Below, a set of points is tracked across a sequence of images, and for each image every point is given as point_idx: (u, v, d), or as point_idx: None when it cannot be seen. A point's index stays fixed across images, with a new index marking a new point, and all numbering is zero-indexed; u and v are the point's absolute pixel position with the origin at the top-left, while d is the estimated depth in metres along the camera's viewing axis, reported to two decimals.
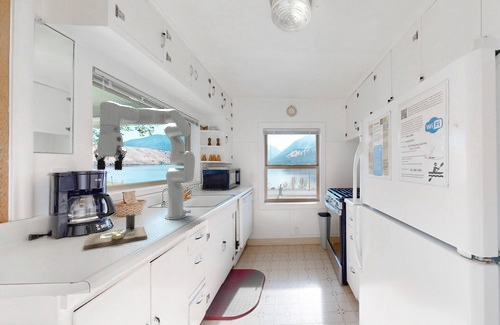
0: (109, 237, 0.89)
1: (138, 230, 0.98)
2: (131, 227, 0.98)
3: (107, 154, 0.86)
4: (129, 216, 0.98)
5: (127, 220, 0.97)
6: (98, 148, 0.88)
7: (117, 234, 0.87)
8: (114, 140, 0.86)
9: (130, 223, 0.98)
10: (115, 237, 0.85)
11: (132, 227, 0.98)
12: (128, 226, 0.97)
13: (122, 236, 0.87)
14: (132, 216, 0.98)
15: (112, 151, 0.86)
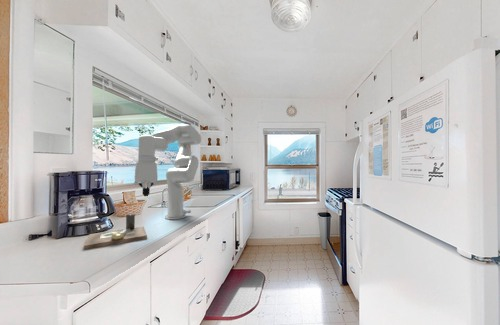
0: (109, 237, 0.89)
1: (138, 230, 0.98)
2: (131, 227, 0.98)
3: (149, 180, 1.02)
4: (129, 216, 0.98)
5: (127, 220, 0.97)
6: (138, 175, 1.00)
7: (117, 234, 0.87)
8: (156, 169, 1.05)
9: (130, 223, 0.98)
10: (115, 237, 0.85)
11: (132, 227, 0.98)
12: (128, 226, 0.97)
13: (122, 236, 0.87)
14: (132, 216, 0.98)
15: (155, 178, 1.04)
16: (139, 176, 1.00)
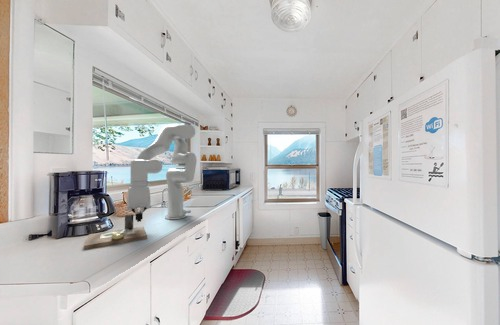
0: (109, 237, 0.89)
1: (138, 230, 0.98)
2: (130, 227, 0.98)
3: (142, 205, 1.01)
4: (128, 216, 0.97)
5: (126, 220, 0.97)
6: (130, 201, 0.98)
7: (117, 234, 0.87)
8: (149, 193, 1.03)
9: (129, 223, 0.97)
10: (115, 237, 0.85)
11: (131, 227, 0.98)
12: (127, 226, 0.97)
13: (122, 236, 0.87)
14: (131, 216, 0.98)
15: (148, 202, 1.02)
16: (131, 202, 0.98)
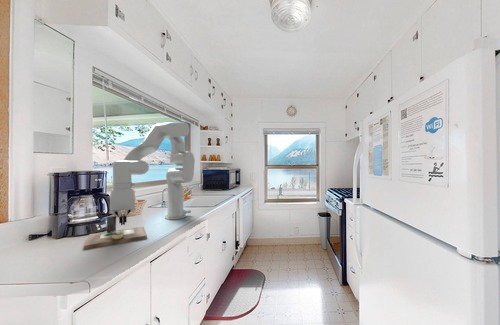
0: (109, 237, 0.89)
1: (138, 230, 0.98)
2: (114, 229, 0.95)
3: (125, 208, 0.97)
4: (112, 217, 0.95)
5: (110, 222, 0.94)
6: (113, 204, 0.94)
7: (117, 234, 0.87)
8: (133, 195, 0.99)
9: (114, 225, 0.95)
10: (119, 236, 0.86)
11: (115, 228, 0.96)
12: (111, 228, 0.94)
13: (123, 235, 0.88)
14: (115, 217, 0.96)
15: (132, 205, 0.99)
16: (114, 205, 0.95)
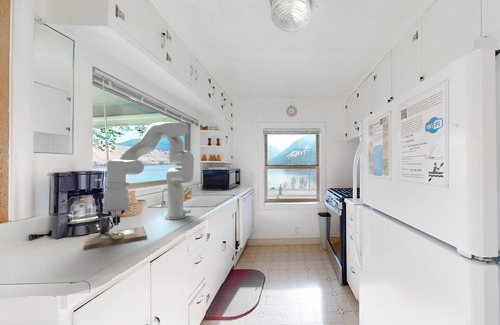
0: (109, 237, 0.89)
1: (138, 230, 0.98)
2: (108, 230, 0.94)
3: (119, 208, 0.95)
4: (107, 218, 0.93)
5: (104, 223, 0.92)
6: (106, 204, 0.93)
7: (117, 234, 0.87)
8: (127, 195, 0.98)
9: (108, 226, 0.93)
10: (120, 236, 0.86)
11: None
12: (106, 229, 0.93)
13: None
14: (109, 218, 0.94)
15: (126, 205, 0.97)
16: (107, 205, 0.93)
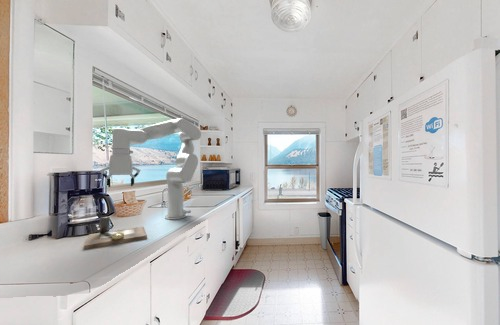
0: (109, 237, 0.89)
1: (138, 230, 0.98)
2: (108, 230, 0.94)
3: (123, 173, 1.02)
4: (107, 218, 0.93)
5: (104, 223, 0.92)
6: (111, 168, 1.00)
7: (117, 234, 0.87)
8: (131, 161, 1.05)
9: (108, 226, 0.93)
10: (120, 236, 0.86)
11: None
12: (106, 229, 0.92)
13: None
14: (109, 218, 0.94)
15: (130, 171, 1.04)
16: (113, 169, 1.00)
